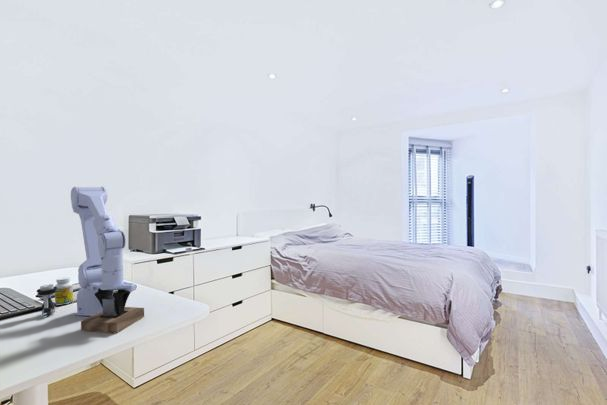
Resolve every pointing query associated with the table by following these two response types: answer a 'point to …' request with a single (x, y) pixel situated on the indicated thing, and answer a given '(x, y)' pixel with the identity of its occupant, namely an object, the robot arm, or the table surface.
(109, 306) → the steel peg
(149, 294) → the table surface
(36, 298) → the table surface
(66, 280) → the supplement bottle
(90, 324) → the socket block
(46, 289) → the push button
